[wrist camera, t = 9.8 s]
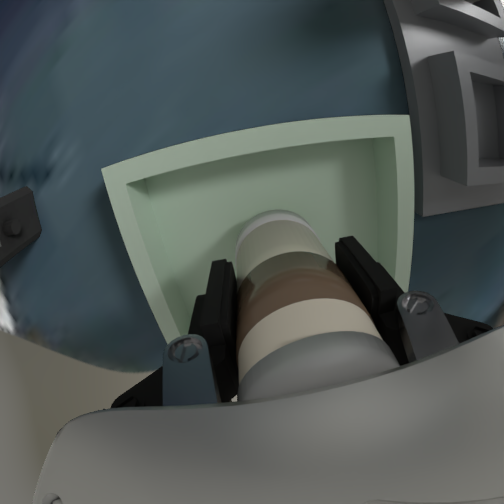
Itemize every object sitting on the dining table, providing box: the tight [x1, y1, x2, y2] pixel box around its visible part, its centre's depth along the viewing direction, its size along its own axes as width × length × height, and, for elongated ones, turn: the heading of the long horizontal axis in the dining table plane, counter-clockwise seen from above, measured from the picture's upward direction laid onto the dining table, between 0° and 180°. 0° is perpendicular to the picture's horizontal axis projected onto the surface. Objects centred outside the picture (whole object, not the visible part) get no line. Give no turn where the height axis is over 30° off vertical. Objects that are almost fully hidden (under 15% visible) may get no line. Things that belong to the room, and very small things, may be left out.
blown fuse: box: [235, 209, 400, 401], centre depth 10 cm, size 4×4×10 cm
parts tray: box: [101, 115, 414, 344], centre depth 14 cm, size 14×12×3 cm
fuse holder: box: [383, 0, 504, 217], centre depth 9 cm, size 10×22×4 cm, turn 11°
